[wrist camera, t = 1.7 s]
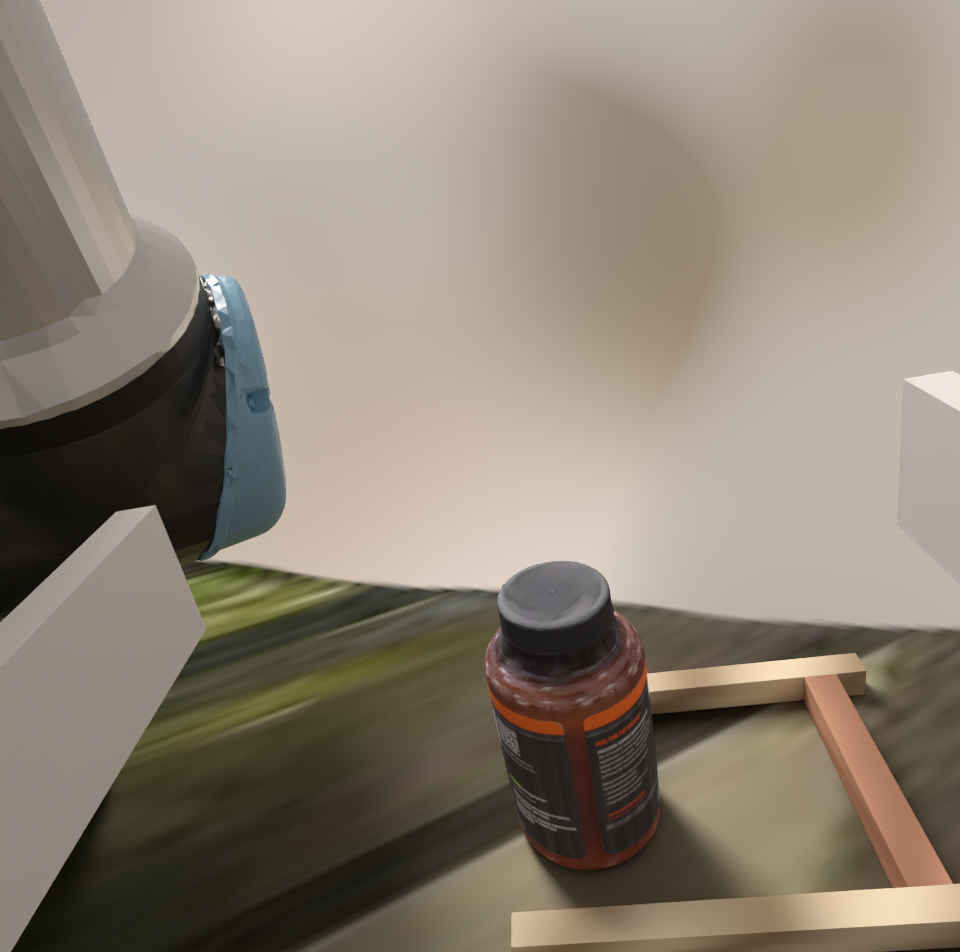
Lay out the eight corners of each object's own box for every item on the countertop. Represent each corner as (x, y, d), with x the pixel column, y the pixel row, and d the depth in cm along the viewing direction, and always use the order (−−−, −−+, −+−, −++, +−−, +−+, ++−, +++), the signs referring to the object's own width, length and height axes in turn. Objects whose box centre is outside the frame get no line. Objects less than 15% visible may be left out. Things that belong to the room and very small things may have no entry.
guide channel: (517, 971, 26) (511, 947, 25) (517, 708, 37) (513, 687, 36) (1010, 944, 24) (1017, 917, 23) (853, 676, 35) (855, 653, 34)
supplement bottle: (677, 773, 32) (660, 552, 27) (641, 900, 27) (612, 662, 22) (547, 742, 34) (510, 537, 29) (494, 852, 30) (440, 631, 25)
